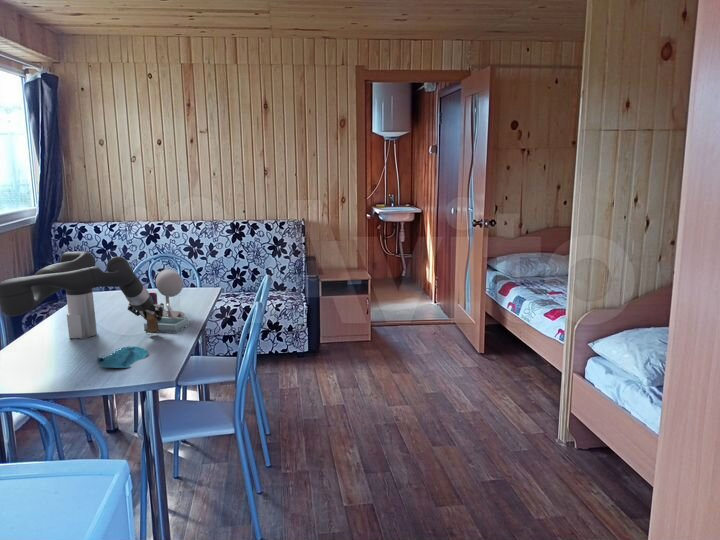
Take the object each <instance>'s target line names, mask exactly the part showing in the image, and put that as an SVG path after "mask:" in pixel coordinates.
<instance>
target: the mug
mask: <svg viewBox="0 0 720 540" xmlns="http://www.w3.org/2000/svg"><path fill="white" fill-rule="evenodd" d="M149 294H150V295H151V297H152V299H153V302H155V303H156V304H158V294H157V293H156V292H149ZM158 305H159V304H158Z"/></svg>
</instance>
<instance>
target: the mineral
mask: <svg viewBox="0 0 720 540" xmlns="http://www.w3.org/2000/svg"><path fill="white" fill-rule="evenodd" d="M114 351H115V350H114ZM111 353H112V355H110V354H108V355H109V356H108V355H106V357H105V356H104V358H103V357H99V356H97V357H96V358H97V360H99V361H100V360H102V362H100V363H99V366H101V368H112V369H113V368H116V369H125V368H127V369H129V368H131V365H133V364H135V363H136V362H139V361H141V360H144V359H145V358H146V357H147V356H148V355H149V351H148V349H145V348H142V347H140V346H135V345H134V346H125V347H122V348H121V350H118V351H115V353H113V352H111Z"/></svg>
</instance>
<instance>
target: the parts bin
mask: <svg viewBox="0 0 720 540" xmlns="http://www.w3.org/2000/svg"><path fill="white" fill-rule="evenodd" d="M188 325H189V318H185V317H184V318H176V320H175V321H172V318H168V317H162V319H161V321H158V330H159V331H158V332H159V333H161V332H162V333H163V332H164V333H174V332H175V333H178V332H180V331H181V329H182V328H183V329H185V328H187V327H189V326H190V325H189V326H188ZM186 326H187V327H186ZM184 327H185V328H184ZM143 329H144V331H146V332H148V329H147V321H146V322H145V323H143ZM183 329H182V330H183ZM179 330H180V331H179ZM158 332H157V333H158Z"/></svg>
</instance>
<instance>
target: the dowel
mask: <svg viewBox="0 0 720 540" xmlns="http://www.w3.org/2000/svg"><path fill="white" fill-rule="evenodd" d="M146 317H147V320H146V322H147V329H148V331H147V333H149V334H155V333H158V331H159V330H158V320H157V319H156V317H155V316H154V315H151V314H150V313H149V312H146Z"/></svg>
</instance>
